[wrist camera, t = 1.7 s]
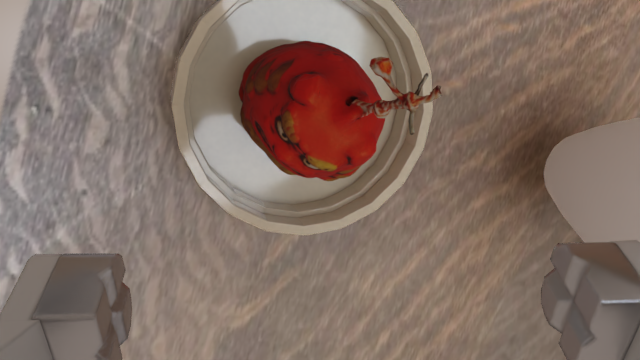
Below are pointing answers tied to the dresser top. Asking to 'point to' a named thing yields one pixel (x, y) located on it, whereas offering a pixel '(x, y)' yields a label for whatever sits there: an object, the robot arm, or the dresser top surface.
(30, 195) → the dresser top surface
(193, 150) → the bowl
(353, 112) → the red daruma ornament
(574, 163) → the cup
